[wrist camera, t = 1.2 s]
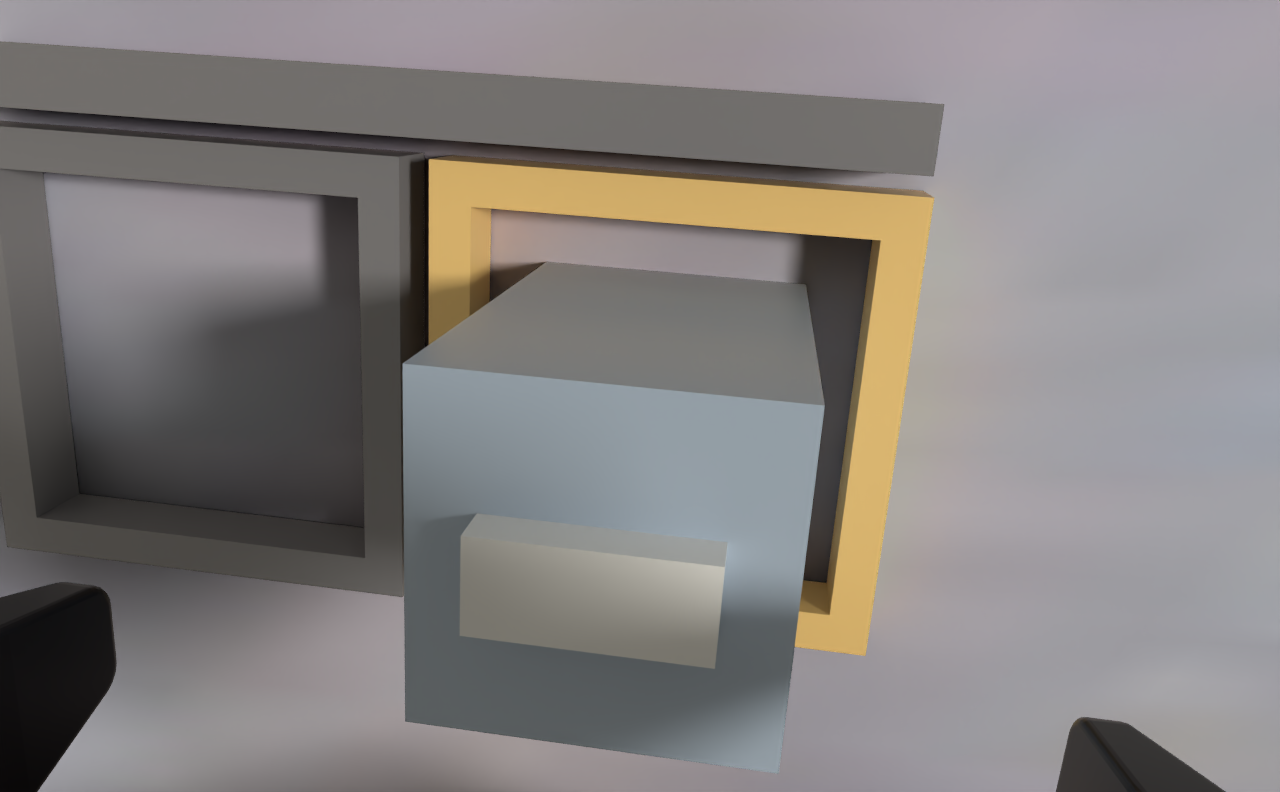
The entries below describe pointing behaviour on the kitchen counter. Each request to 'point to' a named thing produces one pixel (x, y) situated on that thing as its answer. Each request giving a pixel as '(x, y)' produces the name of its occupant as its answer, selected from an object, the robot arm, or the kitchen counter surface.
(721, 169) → the kitchen counter surface
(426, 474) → the blue-grey box
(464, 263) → the cubby shelf with drawer
